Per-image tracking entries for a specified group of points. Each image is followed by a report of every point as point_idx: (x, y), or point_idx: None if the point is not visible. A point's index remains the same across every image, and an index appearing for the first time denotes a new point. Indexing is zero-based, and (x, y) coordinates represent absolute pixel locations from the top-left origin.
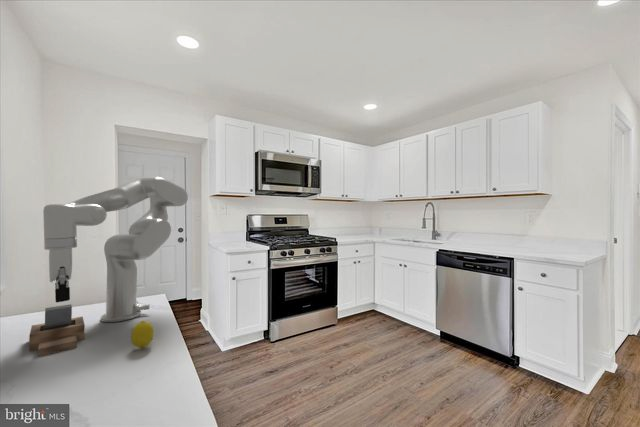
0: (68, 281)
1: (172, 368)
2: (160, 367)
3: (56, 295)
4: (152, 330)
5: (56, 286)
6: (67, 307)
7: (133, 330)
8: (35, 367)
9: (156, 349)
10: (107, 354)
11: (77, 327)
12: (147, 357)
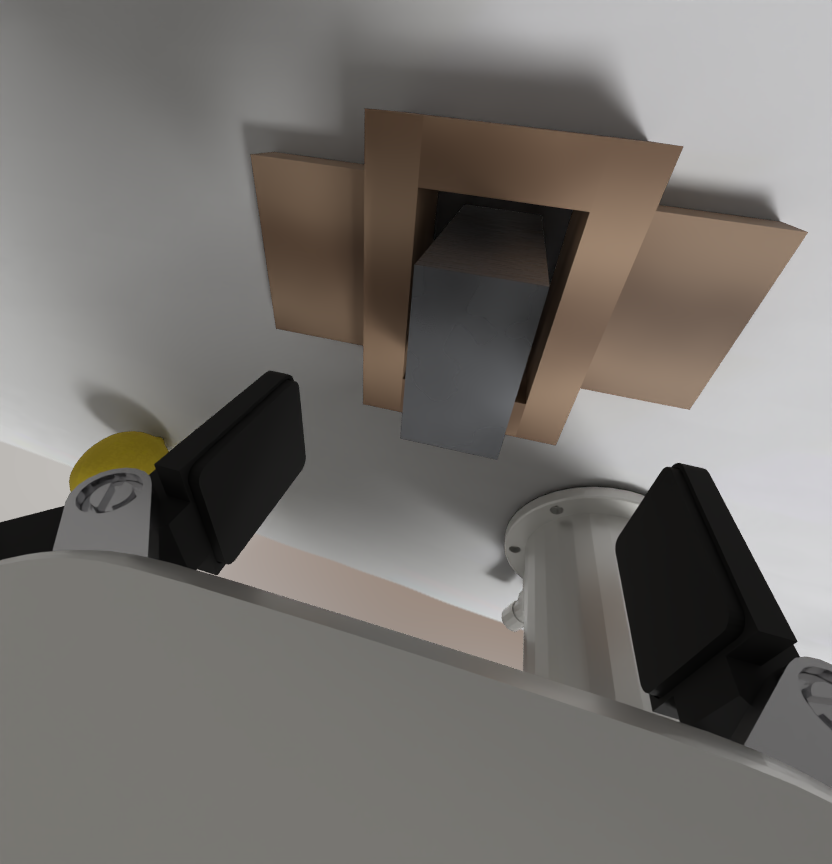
0: (652, 707)
1: (10, 424)
2: (21, 412)
3: (224, 417)
4: None
5: (71, 503)
6: (402, 415)
7: (83, 464)
8: (133, 127)
9: None
10: (158, 365)
11: (367, 372)
12: (92, 421)
